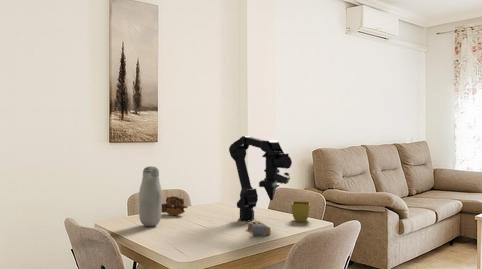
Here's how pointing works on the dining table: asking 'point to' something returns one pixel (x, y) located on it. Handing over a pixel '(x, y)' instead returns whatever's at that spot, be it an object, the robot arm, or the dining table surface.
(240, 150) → the robot arm
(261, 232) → the keeper
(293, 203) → the flower pot
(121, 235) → the dining table surface
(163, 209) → the wooden carving
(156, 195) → the grey tall rounded cylinder
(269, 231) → the link
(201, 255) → the dining table surface
